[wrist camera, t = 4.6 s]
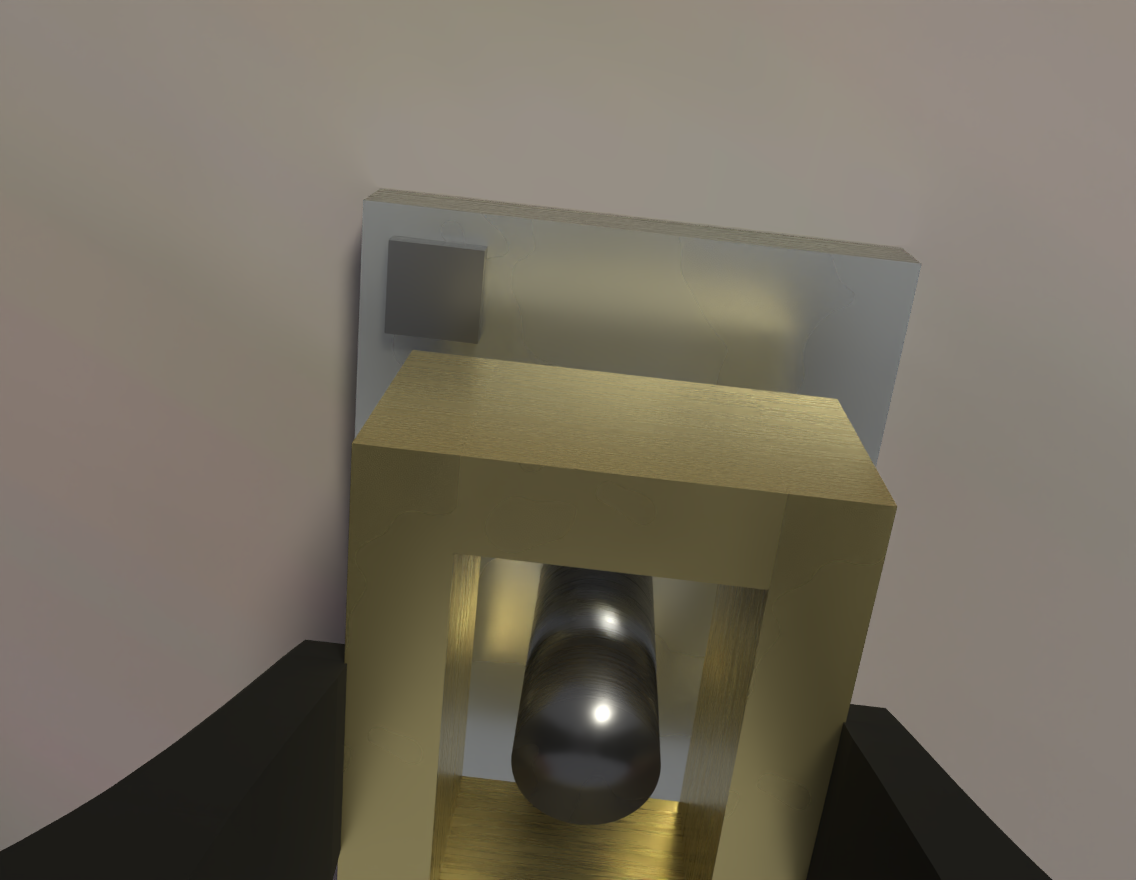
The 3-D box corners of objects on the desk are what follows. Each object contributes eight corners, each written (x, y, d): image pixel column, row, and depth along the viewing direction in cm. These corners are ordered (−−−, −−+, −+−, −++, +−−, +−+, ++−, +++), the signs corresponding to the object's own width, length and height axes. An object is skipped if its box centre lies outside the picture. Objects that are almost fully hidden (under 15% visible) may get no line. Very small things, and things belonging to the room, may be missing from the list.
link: (739, 867, 15) (765, 1058, 12) (386, 825, 15) (333, 1005, 12) (837, 398, 13) (896, 505, 10) (412, 350, 13) (351, 443, 10)
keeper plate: (772, 845, 18) (824, 1131, 13) (355, 794, 18) (259, 1061, 13) (902, 248, 14) (1034, 354, 10) (380, 188, 14) (261, 266, 10)
